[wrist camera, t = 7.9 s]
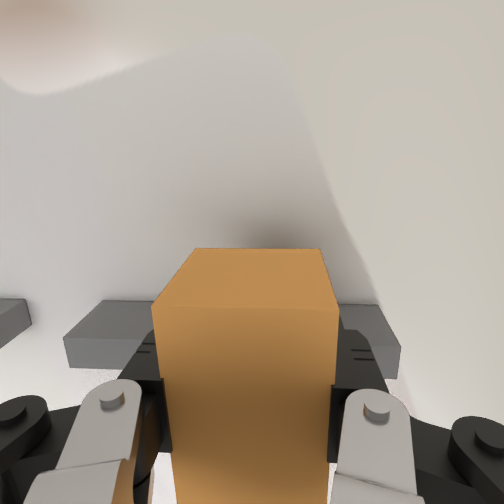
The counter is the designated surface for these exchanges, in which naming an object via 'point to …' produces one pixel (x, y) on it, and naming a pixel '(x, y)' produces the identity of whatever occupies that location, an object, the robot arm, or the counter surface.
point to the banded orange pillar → (248, 374)
